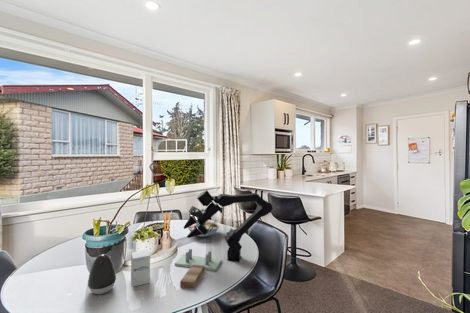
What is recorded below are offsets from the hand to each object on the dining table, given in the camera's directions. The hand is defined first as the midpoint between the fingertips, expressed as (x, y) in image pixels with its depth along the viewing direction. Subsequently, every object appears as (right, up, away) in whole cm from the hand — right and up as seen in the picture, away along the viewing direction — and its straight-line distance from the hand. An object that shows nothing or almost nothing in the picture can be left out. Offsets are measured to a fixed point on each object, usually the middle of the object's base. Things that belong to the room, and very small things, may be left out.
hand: (185, 232), depth 121 cm
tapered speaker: (-30, -17, -23) cm, 42 cm away
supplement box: (-17, -17, -16) cm, 29 cm away
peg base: (+7, -16, +1) cm, 18 cm away
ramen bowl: (+4, -16, +42) cm, 45 cm away
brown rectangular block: (+6, -17, -13) cm, 23 cm away
